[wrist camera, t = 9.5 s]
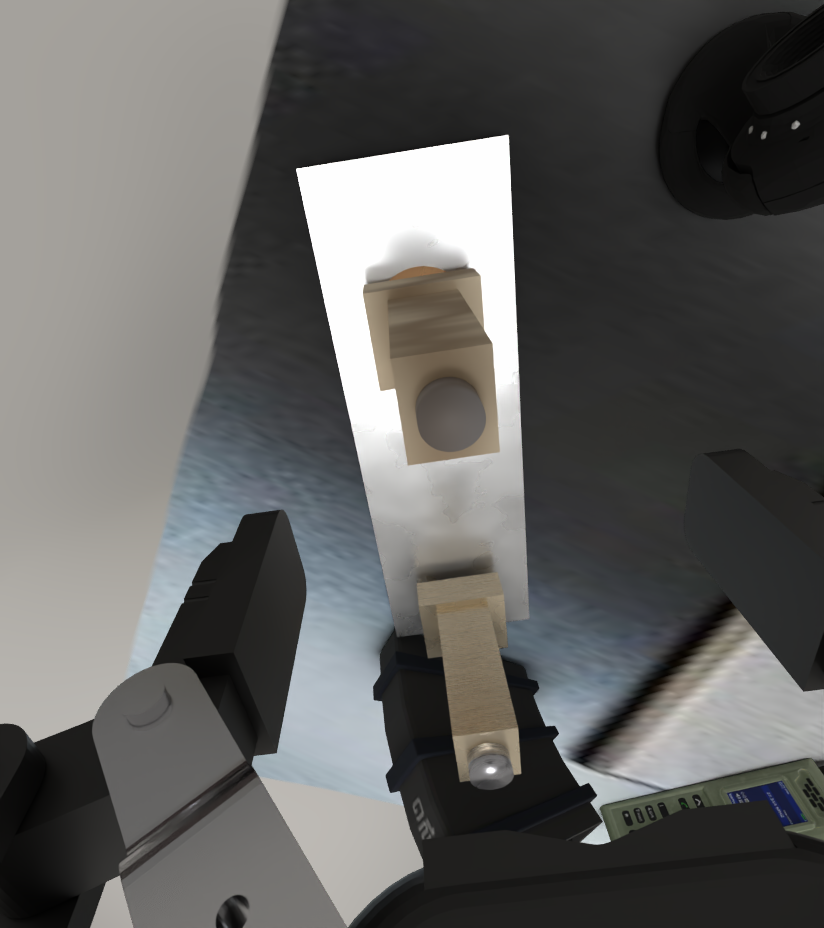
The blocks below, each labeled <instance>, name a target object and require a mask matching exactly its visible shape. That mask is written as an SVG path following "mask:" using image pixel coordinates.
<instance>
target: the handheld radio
mask: <svg viewBox="0 0 824 928" xmlns="http://www.w3.org/2000/svg"><path fill="white" fill-rule="evenodd" d="M762 800H767V801H768V802H769V804H770V806H771V807H772V809H773V811H774V812H775V814H776V816H777V817H778V819H779V821H780V822H781V824H782V826H783V827H784V829H785V830H787V831H792V832H796V833H800V834H804V835H807V836H811V837H815V838H818V839H821V840H824V766H821V767H817V765H816V764H815V762H814V761H813V760H812V759H811V758H809V759H804V760H800V761H796V762H791V763H787V764H782V765H778V766H774V767H769V768H765V769H760V770H756V771H752V772H747V773H743V774H738V775H734V776H730V777H725V778H721V779H716V780H712V781H708V782H703V783H699V784H694V785H690V786H686V787H681V788H677V789H672V790H668V791H664V792H659V793H655V794H651V795H646V796H642V797H637V798H633V799H629V800H624V801H620V802H616V803H611V804H607V805H603V806H601V807H600V810H601V813H602V816H603V819H604V822H605V825H606V828H607V831H608V834H609V837H610V840H611V841H613V840H615V839H618V838H620V837H622V836H624V835H627V834H629V833H631V832H633V831H635V830H638V829H640V828H642V827H644V826H646V825H649V824H651V823H653V822H655V821H657V820H660V819H662V818H664V817H666V816H668V815H671V814H673V813H675V812H677V811H679V810H683V809H692V808H701V807H710V806H718V805H727V804H736V803H744V802H753V801H762Z"/></svg>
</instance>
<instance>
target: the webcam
mask: <svg viewBox="0 0 824 928" xmlns="http://www.w3.org/2000/svg"><path fill="white" fill-rule="evenodd" d="M701 119H703V120H708V121H709V122H710V123H711V124H712V125H713V126H715V127H716V128H717V129H718V130H719V132H720V133H721V135H722V136H723V138H724V139H725V140H726V142H727V143H728V145H729V147H730V148H729V150H728V152H727V154H726V156H725V159H724V164H723V168H722V180H723V183H724V184H722V183H719V182H717V181H715V180H714V179H712V178H711V177H710V176H709V175H707V174H706V173H705V171H704V169H703V168H702V166H701V164H700V161H699V157H698V153H697V150H696V129H697V126H698V122H699V120H701ZM659 150H660V165H661V168H662V172H663V175H664V179H665V182H666V183H667V185H668V187H669V189H670V190H671V192H672V194H673V196H674V197H675V198H676V199H677V200H678V201H679V202H680V203H681V204H682V205H683V206H684V207H686V208H687V209H689V210H690V211H692V212H694V213H696V214H698V215H700V216H703V217H707V218H712V219H725V220H728V219H737V218H742V217H746V216H749V215H752V214H759V215H764V216H767V215H780V214H785V213H790V212H796V211H801V210H804V209H808V208H811V207H814V206H818V205H821V204H824V4H823V5H822V6H821V7H819V8H818V9H816V10H815V11H814V12H812V13H811V14H810V15H808V16H807V17H806V16H802V15H799V14H796V13H792V12H778V13H768V14H760V15H755V16H751V17H749V18H747V19H745V20H743V21H741V22H738V23H736V24H734V25H732V26H731V27H729V28H727V29H726V30H724V31H722V32H721V33H719V34H718V35H717V36H716V37H715V38H714V39H712V40H711V41H710V42H709V43H708V44H707V45H705V46H704V47H703V48H702V49H701V51H700V52H699V53H698V54H697V55H696V56H695V58H694V59H693V60H692V61H691V62H690V64H689V65H688V66H687V68H686V69H685V70H684V72H683V74H682V75H681V77H680V78H679V80H678V82H677V84H676V86H675V88H674V90H673V91H672V93H671V95H670V97H669V100H668V104H667V108H666V112H665V116H664V120H663V125H662V129H661V137H660V146H659Z"/></svg>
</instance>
